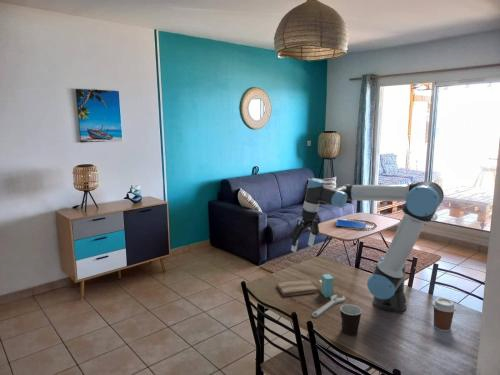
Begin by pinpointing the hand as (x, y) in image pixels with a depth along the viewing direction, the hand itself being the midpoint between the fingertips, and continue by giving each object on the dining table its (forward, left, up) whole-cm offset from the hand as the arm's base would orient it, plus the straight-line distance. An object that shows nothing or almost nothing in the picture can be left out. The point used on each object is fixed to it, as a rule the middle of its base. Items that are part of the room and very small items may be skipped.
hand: (302, 248), depth 185 cm
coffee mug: (-37, -8, -24) cm, 45 cm away
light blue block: (-3, -12, -24) cm, 27 cm away
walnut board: (+4, +1, -24) cm, 24 cm away
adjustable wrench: (-16, -7, -25) cm, 30 cm away
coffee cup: (-45, -47, -24) cm, 70 cm away
